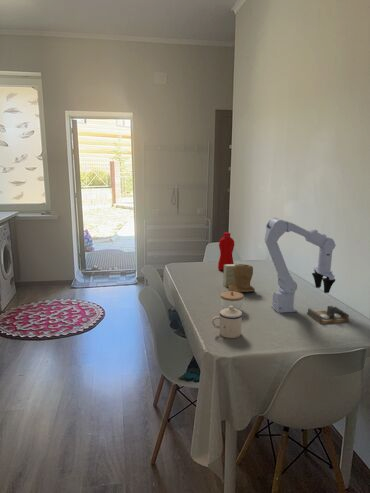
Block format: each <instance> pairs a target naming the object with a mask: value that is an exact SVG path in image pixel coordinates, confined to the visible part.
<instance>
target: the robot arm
mask: <svg viewBox="0 0 370 493" xmlns="http://www.w3.org/2000/svg"><path fill="white" fill-rule="evenodd" d="M290 232H293V233H295V234H297V235H300V236H302V237H303V238H305V241H306V242H308V243H310V244H313V245H314V246H317V247H318V249H319V251H318V261H317V267H314V268H313V272H312V273H311V275H312V278H313V279H314V286H315V288H317V289H319V288H321V286H322V282H323V292H324V294H329V293H330V291H331V289H332V286H333V284H334V283H335V282H336V278H335V275H334V273H333V270H332V269H331V268H332V258H333V250H334V249H335V248H336V246H337V245H336V243H335V240H334V239H333V238H331V237H328V236H327V234H325V233H324V234H323V233H320V232H319V231H318V230H317V229H309V230H307V229H305V228H303V227H301V226H299V225H298V224H295V223H293V222H290V221H288V220H284V219H279V218H277V217H272V218H270V219H269V220H268V222H267V224H266V225H265V235H264V236H265V237H264V243H265V245H266V247H267V250H268V252H269V255H270V258H271V261H272V263H273V266H274V268H275V271H276V273H277V276H276V278H277V285H278V286H279V289H278V291H275V292H273V294H272V306H271V308H272V309H274V310H275V311H276V312H277V313H279V314H283V313H294V312H298V310H297V309H296V308H294V306H295V293H296V291H297V290H298V283H297V282H296V281H295V280H294V279H293V277H292V275H291V274H290V272H289V270H288V267H287V265H286V262H285V259H284V257H283V254H282V251H281V249H280V245H279V243H278V241H279V239H280V238H281V237H282V236H283V235H284V234H286V233H290Z"/></svg>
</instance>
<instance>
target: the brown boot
mask: <svg viewBox="0 0 370 493" xmlns="http://www.w3.org/2000/svg"><path fill="white" fill-rule="evenodd" d="M234 265H235V266H234V277H235V283H234V284H233V285H229V287H228V291H234V292H239V293H249V292H250V293H251V292H252V293H253V292H255V291H256V288H255V287H254V286H251V280H252V278H253V276H254V267H253V266H252V265H251V264H244V263H236V264H234Z"/></svg>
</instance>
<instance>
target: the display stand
mask: <svg viewBox="0 0 370 493" xmlns="http://www.w3.org/2000/svg"><path fill="white" fill-rule="evenodd" d="M333 307H334V308H335V311H336V312H337V313H339V314H340V315H341V318H339V319H337V318H329V319H322V316H320V315H321V314H325V315H327V310H317V311H315V310H313V309H311V308H307V312H306V315H307V316H309V318H311V319H312V320H314V321H316V322H317V323H318V324H320V325H323V324H324V325H325V324H336V323H337V324H338V323H339V324H340V323H349V322H350V314H348V313H346V312H345V311H343V310H341V309H340V308H338V307H337V306H333ZM314 311H315V312H314ZM348 321H349V322H348Z"/></svg>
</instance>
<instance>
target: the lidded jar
mask: <svg viewBox="0 0 370 493" xmlns="http://www.w3.org/2000/svg"><path fill="white" fill-rule="evenodd" d="M219 296H220V305H221V307H222V310H223V309H227V308H229V306H233V307H234V308H235V309H237V310H241V308H242V306H243V302H244V293H242V292H234V291H229V290H226V291H223V292H221V293H220V295H219Z"/></svg>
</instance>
